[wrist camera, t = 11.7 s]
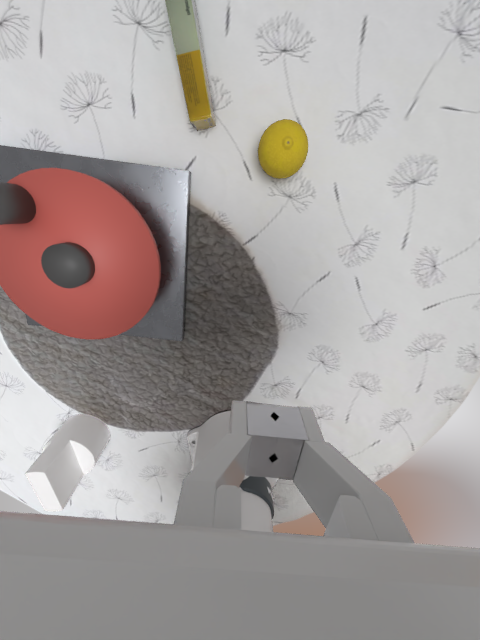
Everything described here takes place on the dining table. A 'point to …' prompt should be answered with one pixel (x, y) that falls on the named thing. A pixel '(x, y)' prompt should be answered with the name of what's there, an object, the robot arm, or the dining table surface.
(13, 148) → the valve stand
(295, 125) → the lemon
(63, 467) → the base with upright slab
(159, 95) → the dining table surface
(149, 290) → the handwheel
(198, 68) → the medication box
